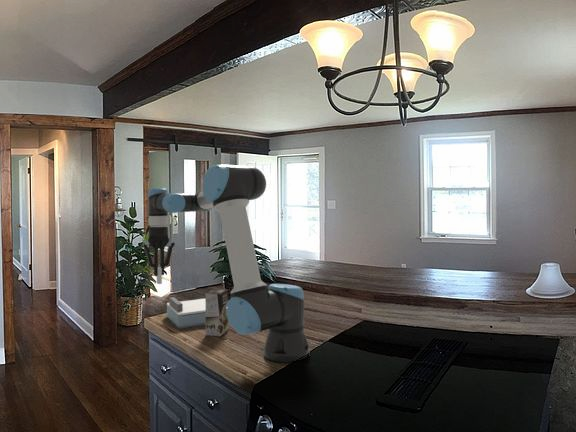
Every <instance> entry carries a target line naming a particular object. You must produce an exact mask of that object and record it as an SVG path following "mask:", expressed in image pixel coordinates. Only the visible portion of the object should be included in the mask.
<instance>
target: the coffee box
mask: <svg viewBox="0 0 576 432" xmlns="http://www.w3.org/2000/svg"><path fill="white" fill-rule="evenodd" d="M204 299H205V302H206V325H205V335H206V336H212V337H221V336H222V335H224V334H225V333H227V331H228V330H229V328H230V327H229V325H230V323H229V321H228V319H227V315H226V307H227V302H228V301H229V289H227V288H226V289H225V288H218V289H217V288H215V289H211V290H210V291H207V292H206V293H205V298H204Z"/></svg>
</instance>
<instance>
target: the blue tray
mask: <svg viewBox="0 0 576 432" xmlns="http://www.w3.org/2000/svg"><path fill="white" fill-rule="evenodd" d="M167 317H168V318H169V319H170V320H171V323H172V324H173V325H174V326H175V327H176V328H177V329H179V330H180V329H181V330H182V329H186V328H187V329H188V328H192V327H193V328H194V327H200V326H206V312H202V313H195V314H187V315H180V316H178V315H177V314H176V313H175V312H174V311H173V310H172V309H171V308H169V307H168V306H167V305H166V318H167ZM168 318H167V319H168ZM169 319H168V320H169ZM170 320H169V321H170Z"/></svg>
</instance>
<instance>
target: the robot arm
mask: <svg viewBox="0 0 576 432" xmlns="http://www.w3.org/2000/svg"><path fill="white" fill-rule="evenodd" d="M201 185H202V187H201V188H202V191H199V192H196V193H195V192H193V193H192V192H191V193H189V192H187V193H186V192H184V193H181V192H169V193H168V189H167V188H149V189H148V195H147V196H148V197H147V202H148V204H147V206H148V225H149V227H148V239H147V241H146V242H145V243H142V245H141V246H142V247H143V249H144V251H145V255H146V258H147V262H148V265H149V267H151V268H153V275H154V276H155V277H156V284H157V285H161V284H163V276H164V275H165V267H167V266H169V264H170V260H171V256H172V252H173V248H174V247H175V245H176V243H175V242H173V241H171V240H170V237H169V227H168V225H169V220H168V219H169V216H168V215H169V213H170V214H175V213H189V212H193V213H195V212H198V213H199V212H202V213H203V212H210V211H211V210H213V209H214V210H215V211H216V212H218V213H219V217H220V221H221V226H222V232H223V236H224V240H225V241H224V243H225V247H226V252H227V256H228V260H229V261H228V262H229V267H230V272H231V277H232V282H233V288H232V289H231V290H230V298H229V299H228V302H227V307H226V315H227V319H228V321H229V325H230V326H231V328H232V329H233V330H235V332H236V333H237V334H239V335H243V336H247V335H254V334H258V333H259V332H260V333H261V332H262V331H266V330H268V333H267V336H266V339H265V343H264V346H263V357H264V358H265V359H267V360H269V361H272V362H273V361H274V362H276V363H278V362H279V363H293V362H292V361H295V360H297V359H299V358H301V357H303V356H305V355H307V354H308V353H309V354H310V345H309V343H308V339H307V337H306V333H305V326H304V325H305V324H304V323H305V296H304V290H303V288H302V287H301V286H298V285H294V284H289V283H287V284H286V283H271V284H269V285H268V283H267V284H266V283H265V282H264V281H263V280H262V278H261V274H260V268H259V263H258V259H257V254H256V249H255V245H254V239H253V236H252V230H251V226H250V222H249V215H248V211H247V206H248V205H249V203H250V201H252V200H256V199H259V198H260V197H261V196H263V195H264V193H265V191H266V188H267V180H266V176H265V174H264V173H263V172H262V171H261V170H260V169H258V168H257V167H255V166H251V165H236V164H235V165H234V164H226V163H221V164H213V165H212V166H210V167H209V168H208V169H207V170H206V171H205V174H204V176H203V180H202V184H201ZM150 247H151V248H152V249H153V250H152V251H153V253H152V254H153V257H152V255H151V252H150ZM166 247H168V248H167V251H166V255H165V248H166ZM158 251H159V253H158ZM158 255H159V257H158ZM158 258H159V259H158ZM159 265H160V266H159Z"/></svg>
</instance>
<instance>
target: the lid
mask: <svg viewBox="0 0 576 432" xmlns="http://www.w3.org/2000/svg"><path fill="white" fill-rule="evenodd" d="M168 299H169V300H168V301H169V302H167V303H166V307H167V306H168V307H169V308H171V309H172V310H173V311H174V312H175V313H176V314H177V315H178V316H180V315H187V314H195V313H202V312H206V302H205V298H198V299H197V298H196V299H191V300H182V301H179V300H178V299H177V298H176V297H174V296H172V297H169V298H168Z"/></svg>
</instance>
